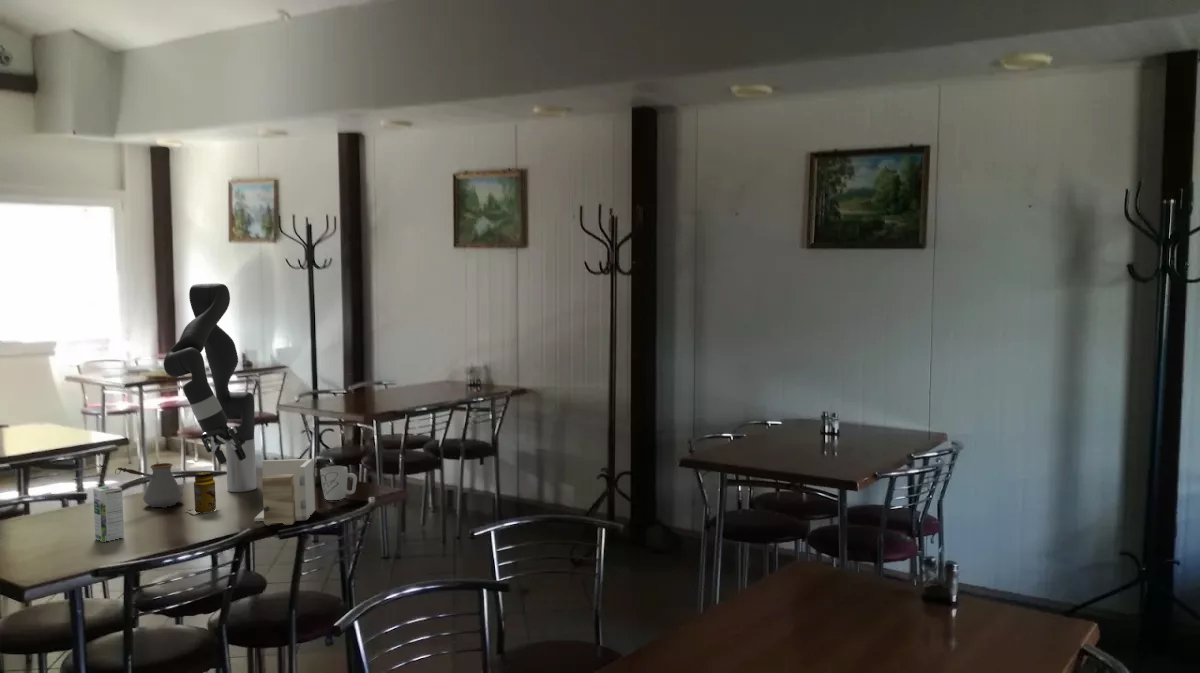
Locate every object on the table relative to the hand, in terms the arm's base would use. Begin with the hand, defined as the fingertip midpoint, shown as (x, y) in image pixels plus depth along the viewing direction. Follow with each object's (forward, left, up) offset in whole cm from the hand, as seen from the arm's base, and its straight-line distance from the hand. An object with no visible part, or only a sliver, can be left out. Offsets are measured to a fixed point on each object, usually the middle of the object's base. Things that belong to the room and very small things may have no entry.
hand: (233, 461), depth 278 cm
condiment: (-12, -14, -18) cm, 26 cm away
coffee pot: (-18, -32, -18) cm, 41 cm away
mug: (-21, +26, -18) cm, 39 cm away
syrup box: (+16, -30, -18) cm, 38 cm away
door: (+6, +14, -18) cm, 23 cm away
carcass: (-1, +14, -18) cm, 23 cm away
